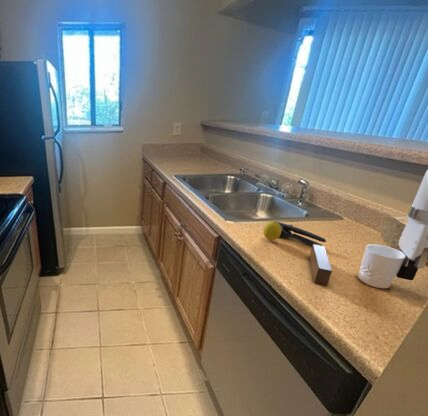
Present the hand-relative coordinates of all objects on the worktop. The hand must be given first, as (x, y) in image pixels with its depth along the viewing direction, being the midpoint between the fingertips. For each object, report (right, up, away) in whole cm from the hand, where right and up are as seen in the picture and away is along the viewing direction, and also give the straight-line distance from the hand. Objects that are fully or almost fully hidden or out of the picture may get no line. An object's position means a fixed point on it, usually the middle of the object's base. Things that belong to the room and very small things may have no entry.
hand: (403, 277), depth 75 cm
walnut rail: (-16, 0, +9) cm, 19 cm away
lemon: (-20, +7, +28) cm, 35 cm away
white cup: (-4, -2, +4) cm, 6 cm away
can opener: (-10, +7, +28) cm, 30 cm away
